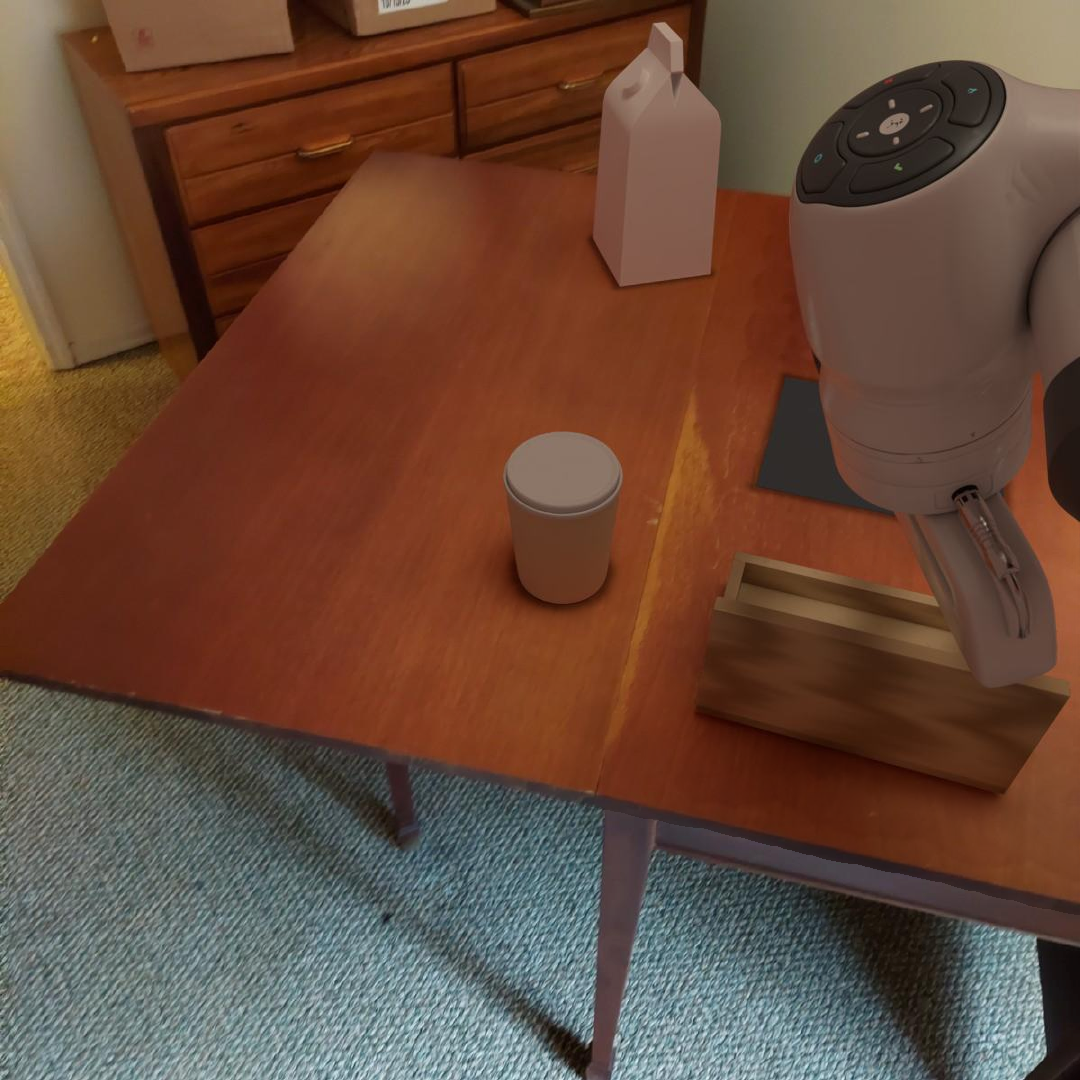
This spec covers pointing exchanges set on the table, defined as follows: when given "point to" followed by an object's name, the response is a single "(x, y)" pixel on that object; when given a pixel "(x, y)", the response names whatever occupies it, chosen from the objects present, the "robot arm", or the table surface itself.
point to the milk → (656, 169)
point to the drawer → (865, 675)
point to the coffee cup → (562, 513)
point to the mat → (806, 451)
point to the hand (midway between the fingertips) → (942, 572)
